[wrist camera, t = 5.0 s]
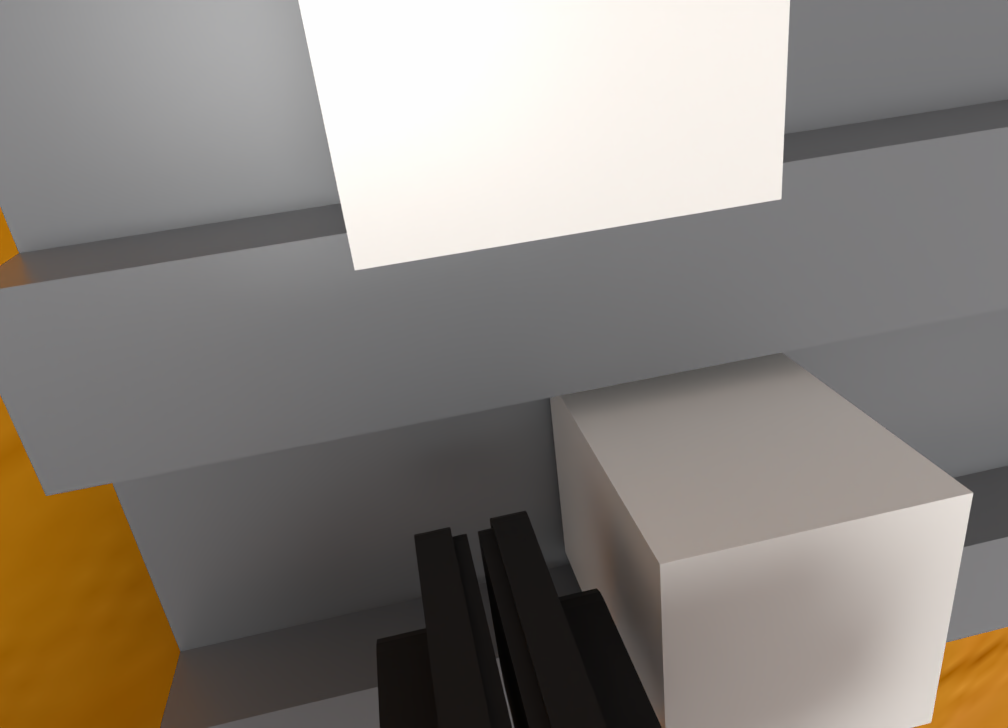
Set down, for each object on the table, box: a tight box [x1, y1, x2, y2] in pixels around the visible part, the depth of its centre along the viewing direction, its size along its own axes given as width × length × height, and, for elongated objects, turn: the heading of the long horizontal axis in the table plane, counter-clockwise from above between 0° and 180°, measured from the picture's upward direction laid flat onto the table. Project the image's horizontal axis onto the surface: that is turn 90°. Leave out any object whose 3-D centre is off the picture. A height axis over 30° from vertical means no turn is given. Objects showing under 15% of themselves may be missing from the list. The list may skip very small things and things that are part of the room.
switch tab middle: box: [298, 0, 790, 270], centre depth 8 cm, size 4×4×5 cm
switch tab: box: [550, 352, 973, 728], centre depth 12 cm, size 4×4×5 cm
